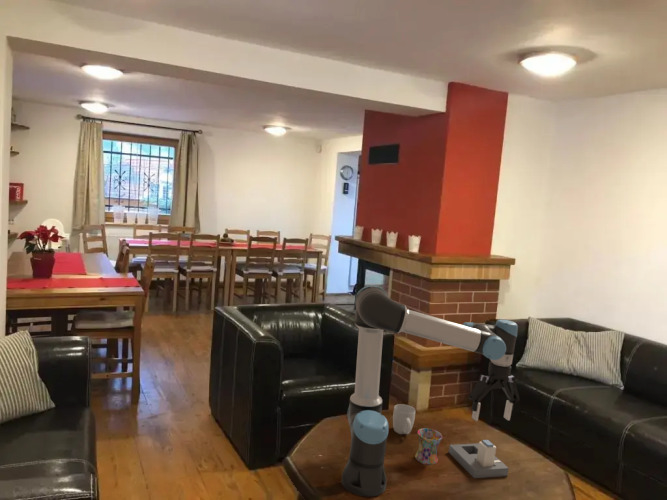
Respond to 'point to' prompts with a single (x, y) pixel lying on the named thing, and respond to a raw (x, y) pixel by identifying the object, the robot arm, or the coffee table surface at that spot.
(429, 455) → the mug
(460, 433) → the coffee table surface
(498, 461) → the panel
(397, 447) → the coffee table surface
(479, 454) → the plug
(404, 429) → the mug
